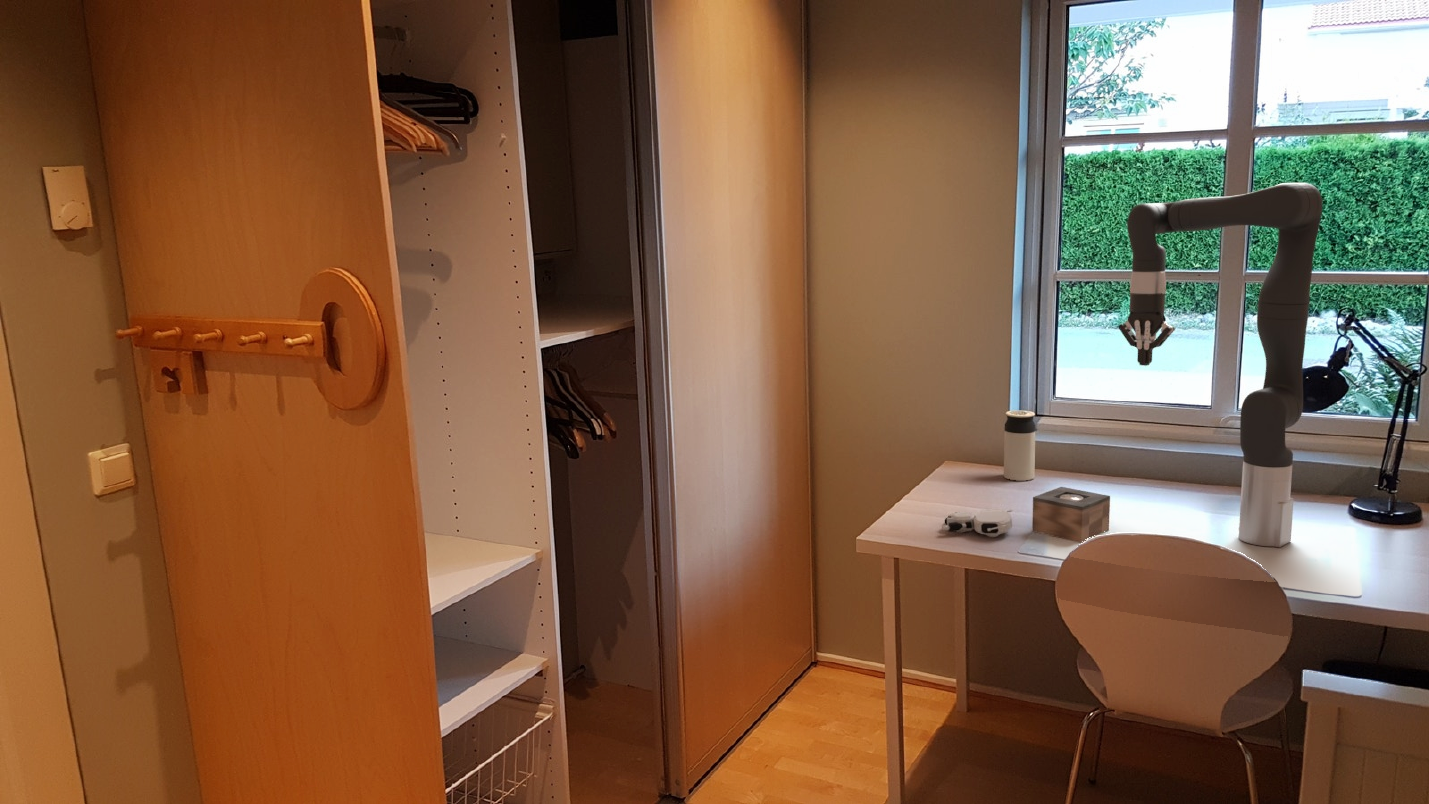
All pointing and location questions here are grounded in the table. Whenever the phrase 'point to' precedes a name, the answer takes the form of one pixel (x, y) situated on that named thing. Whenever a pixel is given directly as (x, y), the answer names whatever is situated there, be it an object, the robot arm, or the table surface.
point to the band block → (1071, 514)
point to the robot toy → (980, 522)
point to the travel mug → (1019, 445)
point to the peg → (1071, 497)
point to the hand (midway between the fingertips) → (1144, 365)
